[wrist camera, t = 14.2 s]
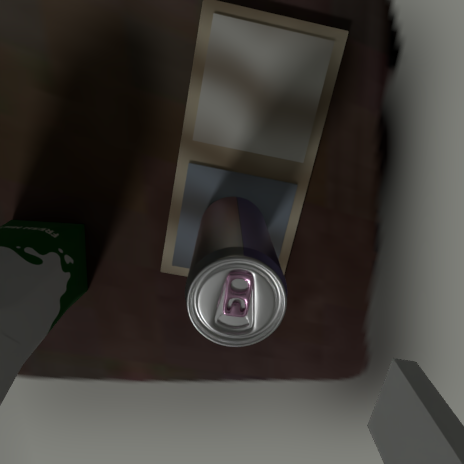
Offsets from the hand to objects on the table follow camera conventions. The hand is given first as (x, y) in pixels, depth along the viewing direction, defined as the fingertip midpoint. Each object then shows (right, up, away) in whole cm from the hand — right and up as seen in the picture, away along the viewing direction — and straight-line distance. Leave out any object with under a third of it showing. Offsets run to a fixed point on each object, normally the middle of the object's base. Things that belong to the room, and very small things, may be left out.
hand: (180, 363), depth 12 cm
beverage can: (+2, +5, +24) cm, 24 cm away
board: (+3, +11, +23) cm, 26 cm away
